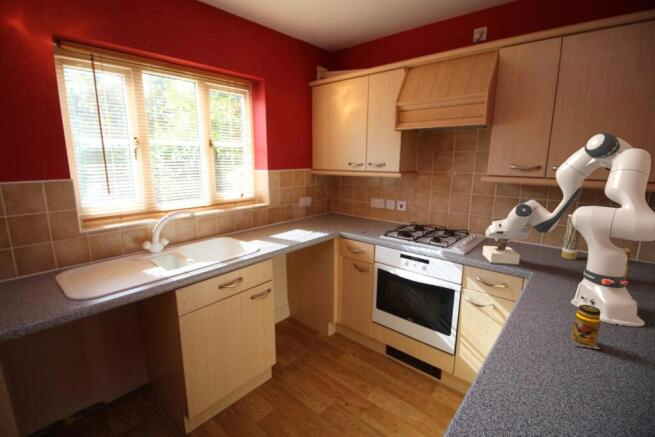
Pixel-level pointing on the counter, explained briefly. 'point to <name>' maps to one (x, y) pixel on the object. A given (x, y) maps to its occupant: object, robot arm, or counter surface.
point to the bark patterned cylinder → (570, 240)
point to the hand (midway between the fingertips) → (502, 240)
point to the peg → (502, 244)
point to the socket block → (501, 256)
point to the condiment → (586, 325)
